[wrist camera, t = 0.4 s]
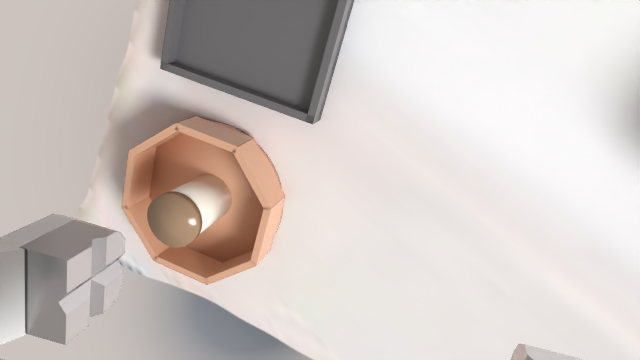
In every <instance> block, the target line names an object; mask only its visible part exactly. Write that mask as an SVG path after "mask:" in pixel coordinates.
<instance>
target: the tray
mask: <svg viewBox="0 0 640 360" xmlns="http://www.w3.org/2000/svg"><path fill="white" fill-rule="evenodd" d="M353 2H354V0H170V4H169V11H168V18H167V25H166V32H165V38H164V45H163V52H162V59H161V66H160V69H162V70H165V71H168V72H171V73H173V74H176V75H179V76H182V77H184V78H187V79H190V80H193V81H195V82H198V83H201V84H204V85H206V86H209V87H212V88H214V89H217V90H220V91H223V92H225V93H228V94H231V95H234V96H236V97H239V98H242V99H245V100H247V101H250V102H253V103H256V104H258V105H261V106H264V107H267V108H269V109H272V110H275V111H278V112H280V113H283V114H286V115H289V116H291V117H294V118H297V119H300V120H302V121H305V122H308V123H310V124H314V123H316V122H317V121H319V120H320V118H321V115H322V111H323V108H324V104H325V101H326V97H327V94H328V90H329V87H330V83H331V80H332V76H333V73H334V69H335V66H336V62H337V59H338V55H339V52H340V48H341V45H342V41H343V38H344V34H345V31H346V27H347V24H348V20H349V16H350V13H351V9H352V6H353Z"/></svg>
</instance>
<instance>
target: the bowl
mask: <svg viewBox="0 0 640 360" xmlns="http://www.w3.org/2000/svg"><path fill="white" fill-rule="evenodd" d="M202 174H212V175H215V176H217V177H219V178H220V179H222V180H223V181H224V182H225V183H226V185H227V186H228V188H229V190H230V193H231V199H232V201H231V206H230V209H229V210H228V212H227V213H226V214H225V215H223V216H222V217H221V218H220V219H218V220H217V221H216V222H214V223H213V224H212V225H210V226H209V227H208V228H206V229H205V230H204V231H203V232H201V233H200V234H199V236H198V237H197V238H196V239H194V240H193V241H192V242H191V243H189V244H188V245H186V246H184V247H178V248H176V247H171V246H168V245H166V244H164V243H162V242H161V241H160V240H158V239H157V238H156V236H155V235H154V234H153V232H152V231H151V229H150V227H149V224H148V220H147V211H148V207H149V205H150V203H151V202H152V201H153V200H154V199H155V198H156V197H158V196H160V195H162V194H164V193H166V192H170V191H172V190H174V189H176V188H177V187H179V186H181V185H183V184H185V183H186V182H188V181H190V180H192V179H194V178H195V177H197V176H199V175H202ZM284 199H285V195H284V193H283V191H282V188H281V183H280V180H279V177H278V174H277V172H276V170H275V167H274V165H273V164H272V162H271V160H270V159H269V157H268V156H267V154H266V153H265V152H264V150H263V149H262V148H261V147H260V146H259V145H258V144H257V143H256V141H255V139H253V137H250V136H248V135H247V134H245V133H243V132H242V131H240V130H239V129H237V128H234V127H232V126H230V125H227V124H224V123H221V122H215V121H208V120H205V119H203V118H200V117H198V116H195V117H192V118H189V119H186V120H183V121H180V122H177V123H175V124H173V125H171V126H170V127H168V128H166V129H165V130H163V131H161V132H160V133H158V134H156V135H154V136H153V137H151V138H149V139H148V140H146V141H144V142H143V143H141V144H139V145H137V146H136V147H134V148H132V149H131V150H129V152H128V160H127V168H126V176H125V184H124V192H123V200H122V209H123V211H124V212H125V214H126V216H127V217H128V219H129V221H130V223H131V224H132V226H133V228H134V229H135V231H136V233H137V234H138V236H139V238H140V239H141V241H142V243H143V244H144V246H145V248H146V249H147V251H148V253H149V254H150V256H151V258H152V259H153V260H154V261H155V262H157V263H159V264H162V265H164V266H166V267H168V268H170V269H173V270H175V271H177V272H179V273H181V274H184V275H186V276H188V277H190V278H193V279H195V280H197V281H199V282H201V283H204V284H206V285H208V284H211V283H213V282H216V281H219V280H221V279H224V278H226V277H229V276H232V275H234V274H237V273H239V272H242V271H244V270H247V269H250V268H252V267H255V266H256V265H257V264H258V263H259V262H260V261H261V260H262V259H263V258H264V257H265V255H266V254H267V253H268V252H269V251H270V250H271V246H272V243H273V239H274V235H275V233H276V231H277V230H278V227H279V224H280V222H281V218H282V213H283V202H284Z"/></svg>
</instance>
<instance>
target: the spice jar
mask: <svg viewBox="0 0 640 360" xmlns="http://www.w3.org/2000/svg"><path fill="white" fill-rule="evenodd" d="M231 201H232V199H231V193H230V190H229V188H228V186H227V185H226V183H225V182H224V181H223V180H222V179H220V178H219V177H217V176H215V175H212V174H202V175H199V176H197V177H195V178H194V179H192V180H190V181H188V182H186V183H185V184H183V185H181V186H179V187H177V188H176V189H174V190H172V191H170V192H166V193H164V194H162V195H160V196H158V197H156V198H155V199H154V200H153V201H152V202H151V203H150V205H149V207H148V211H147V220H148V224H149V227H150V229H151V231H152V232H153V234H154V235H155V236H156V238H157V239H158V240H160V241H161V242H162V243H164V244H166V245H168V246H171V247H176V248H178V247H184V246H186V245H188V244H189V243H191V242H192V241H193V240H194V239H196V238H197V237H198V236H199V234H200V233H201V232H203V231H204V230H205V229H206V228H208V227H209V226H210V225H212V224H213V223H214V222H216V221H217V220H218V219H220V218H221V217H222V216H223V215H225V214H226V213H227V212H228V210H229V209H230V206H231Z"/></svg>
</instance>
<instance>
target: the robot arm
mask: <svg viewBox="0 0 640 360" xmlns="http://www.w3.org/2000/svg"><path fill="white" fill-rule="evenodd" d="M124 253H125V238H124V236H123V235H122V233H121V232H118V231H115V230H111V229H108V228H105V227H101V226H98V225H95V224H91V223H88V222H85V221H81V220H78V219H75V218H71V217H67V216H63V215H58V214H51V215H49V216H47V217H45V218H43V219H40V220H38V221H36V222H34V223H31V224H29V225H27V226H25V227H23V228H20V229H18V230H16V231H14V232H11V233H9V234H7V235H5V236H3V237H0V345H1V344H4V343H6V342H9V341H12V340H14V339H17V338H20V337H22V336H25V333H26V334H30V335H33V336H37V337H40V338H43V339H47V340H50V341H54V342H57V343H61V344H65V345H66V344H67V343H68V342H69V341H70V340H72V339H73V338H74V337H75V336H77V335H78V334H79V333H80V332H81V331H83V330H84V329H85V328H86V327H87V326H88V325H89V317H92V316H95V315H99V314H102V313H104V312H105V311H106V310H107V309H109V308H110V307H111V306H112V305H113V303H114V302H115V300H116V298H117V297H118V295H119V293H120V290H121V287H122V283H123V269H122V268H121V266H120V264H119V262H118V259H119V258H120V257H121V256H122V255H123V254H124ZM0 360H3V359H0ZM511 360H583V359H579V358H576V357H572V356H568V355H564V354H560V353H556V352H552V351H548V350H544V349H540V348H536V347H532V346H528V345H524V344H518V346H517V347H516V349H515V350H514V352H513V355H512V358H511Z"/></svg>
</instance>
